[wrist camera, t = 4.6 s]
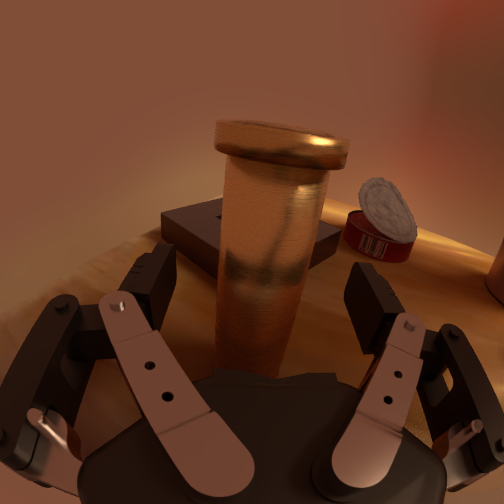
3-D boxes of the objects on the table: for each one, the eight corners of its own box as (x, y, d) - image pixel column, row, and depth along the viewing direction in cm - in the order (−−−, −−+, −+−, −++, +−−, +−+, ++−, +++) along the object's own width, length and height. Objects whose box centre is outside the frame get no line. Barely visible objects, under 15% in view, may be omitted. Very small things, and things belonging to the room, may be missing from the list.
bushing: (245, 331, 20) (275, 121, 13) (300, 372, 17) (369, 144, 10) (189, 365, 16) (189, 119, 10) (245, 418, 14) (300, 138, 7)
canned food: (383, 264, 41) (427, 219, 36) (387, 293, 32) (444, 238, 27) (332, 214, 42) (375, 166, 37) (323, 231, 33) (378, 169, 28)
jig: (249, 211, 40) (251, 191, 38) (335, 253, 32) (341, 229, 30) (161, 237, 30) (160, 212, 29) (250, 303, 23) (254, 273, 21)
